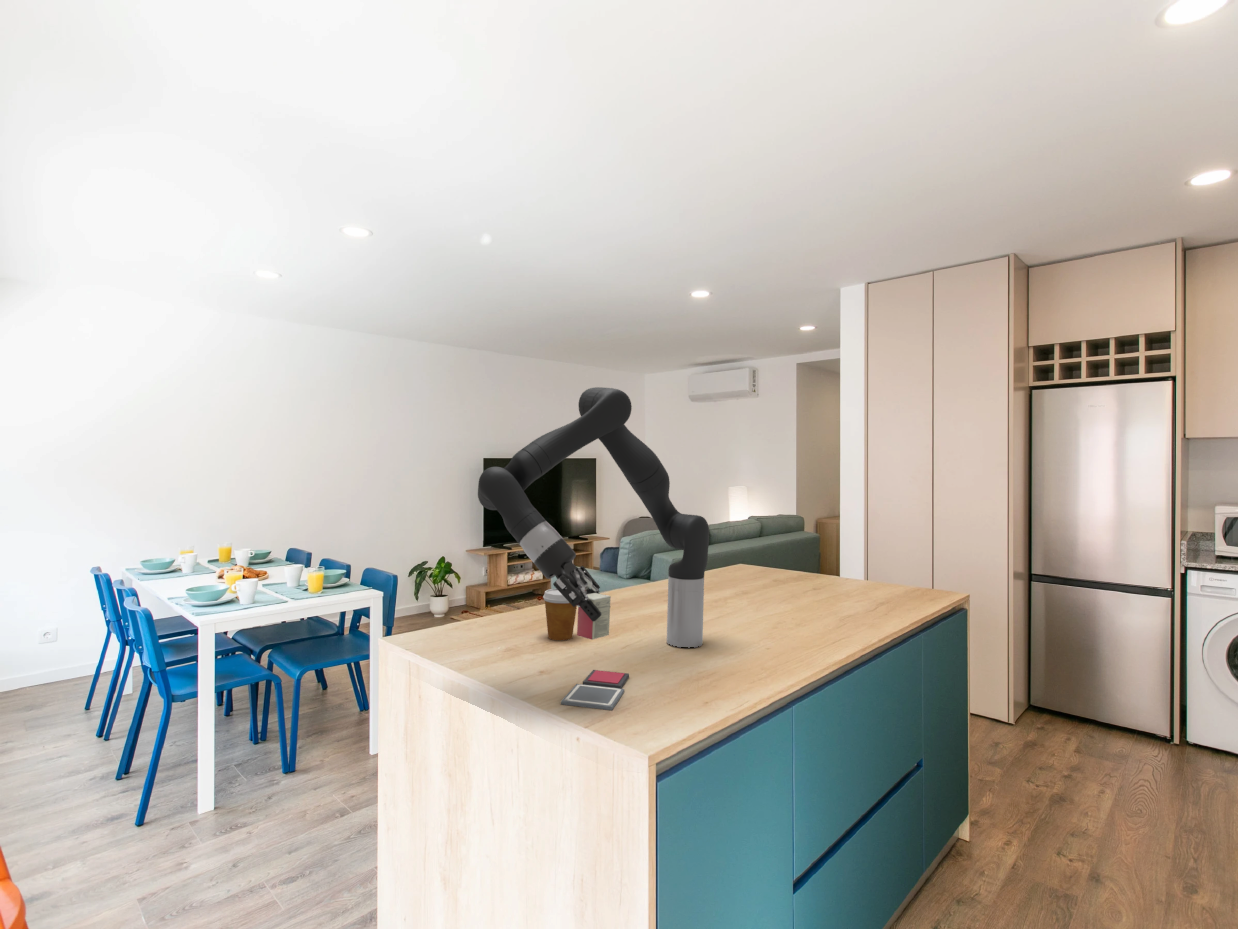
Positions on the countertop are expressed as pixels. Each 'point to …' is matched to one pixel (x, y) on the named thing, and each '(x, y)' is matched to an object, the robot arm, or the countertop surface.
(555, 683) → the countertop surface
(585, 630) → the small box
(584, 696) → the board
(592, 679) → the ink pad
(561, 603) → the disposable coffee cup
